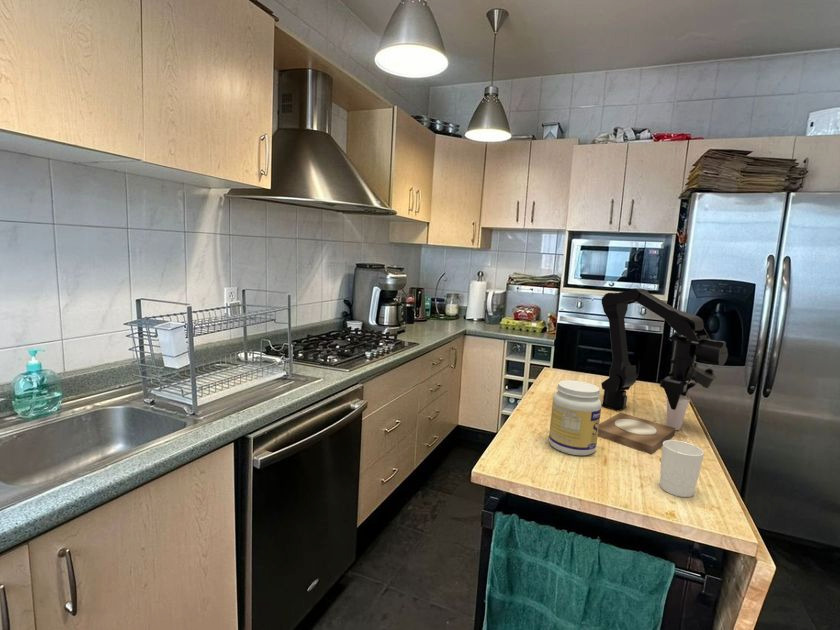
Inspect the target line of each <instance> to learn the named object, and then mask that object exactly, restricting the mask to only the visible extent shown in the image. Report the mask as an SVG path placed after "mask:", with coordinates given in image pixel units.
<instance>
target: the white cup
mask: <svg viewBox="0 0 840 630" xmlns="http://www.w3.org/2000/svg"><path fill="white" fill-rule="evenodd" d="M661 448H662V449H661V459H660V460H661V461H660V473H659V474H660V479H659V487H660V488H661V489H662V490H663V491H665V492H667V494H668V493H669V494H670V495H673V496H676V497H681V498H691V497H693V496H694V494H695V491H696V486H697V483H698V480H699V477H700V471H701V467H702V462H703V458H704V455H705V454H704V453H705V452H704V450H703V449H702V448H700V447H698V446H697V445H695V444H692V443H689V442H685V441H681V440H674V439H670V440H667V441H664V442H663V446H661Z"/></svg>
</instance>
